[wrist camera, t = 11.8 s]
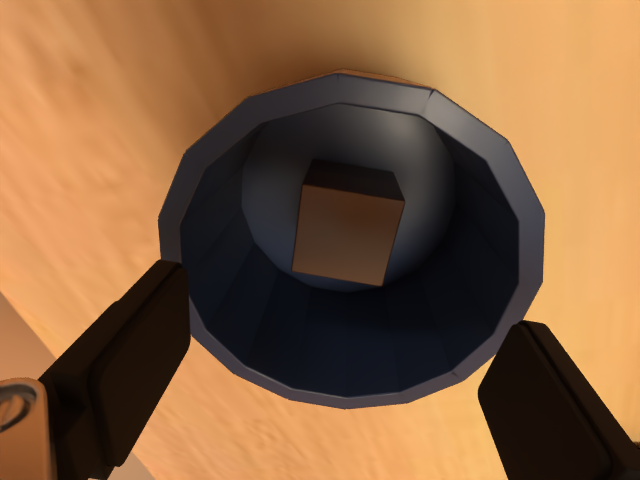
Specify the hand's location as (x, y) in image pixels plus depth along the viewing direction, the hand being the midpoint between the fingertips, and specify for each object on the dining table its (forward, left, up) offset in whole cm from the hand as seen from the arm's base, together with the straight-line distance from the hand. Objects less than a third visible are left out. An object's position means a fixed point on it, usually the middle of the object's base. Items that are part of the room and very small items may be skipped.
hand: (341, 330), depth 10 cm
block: (0, 0, -11) cm, 11 cm away
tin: (0, 0, -11) cm, 11 cm away
